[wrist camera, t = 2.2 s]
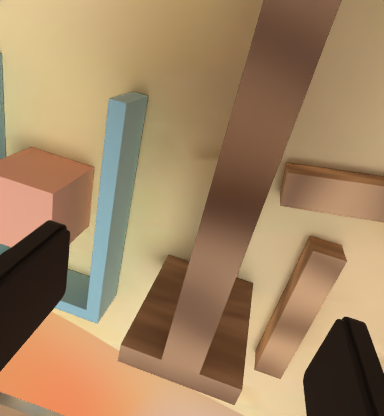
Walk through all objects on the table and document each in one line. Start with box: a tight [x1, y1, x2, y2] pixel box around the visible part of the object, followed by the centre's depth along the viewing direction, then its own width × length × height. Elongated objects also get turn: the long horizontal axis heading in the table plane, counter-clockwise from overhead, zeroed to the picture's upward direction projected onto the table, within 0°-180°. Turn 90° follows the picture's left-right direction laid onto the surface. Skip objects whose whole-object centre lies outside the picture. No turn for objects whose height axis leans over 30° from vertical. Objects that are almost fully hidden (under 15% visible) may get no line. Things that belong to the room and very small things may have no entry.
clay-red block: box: [0, 147, 94, 247], centre depth 27 cm, size 6×6×6 cm
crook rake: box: [118, 0, 341, 405], centre depth 19 cm, size 28×8×10 cm, turn 166°
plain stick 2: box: [254, 236, 347, 379], centre depth 29 cm, size 14×2×2 cm, turn 167°
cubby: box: [0, 53, 148, 324], centre depth 28 cm, size 20×13×4 cm, turn 166°
